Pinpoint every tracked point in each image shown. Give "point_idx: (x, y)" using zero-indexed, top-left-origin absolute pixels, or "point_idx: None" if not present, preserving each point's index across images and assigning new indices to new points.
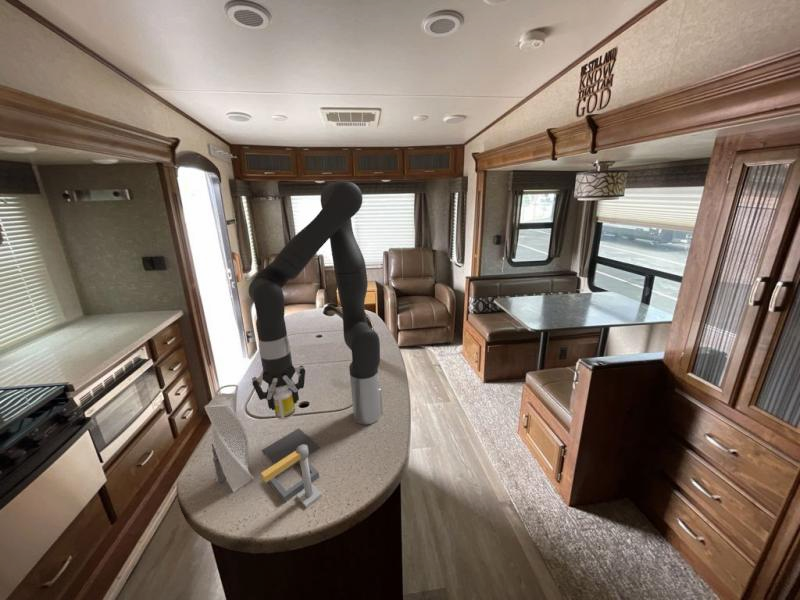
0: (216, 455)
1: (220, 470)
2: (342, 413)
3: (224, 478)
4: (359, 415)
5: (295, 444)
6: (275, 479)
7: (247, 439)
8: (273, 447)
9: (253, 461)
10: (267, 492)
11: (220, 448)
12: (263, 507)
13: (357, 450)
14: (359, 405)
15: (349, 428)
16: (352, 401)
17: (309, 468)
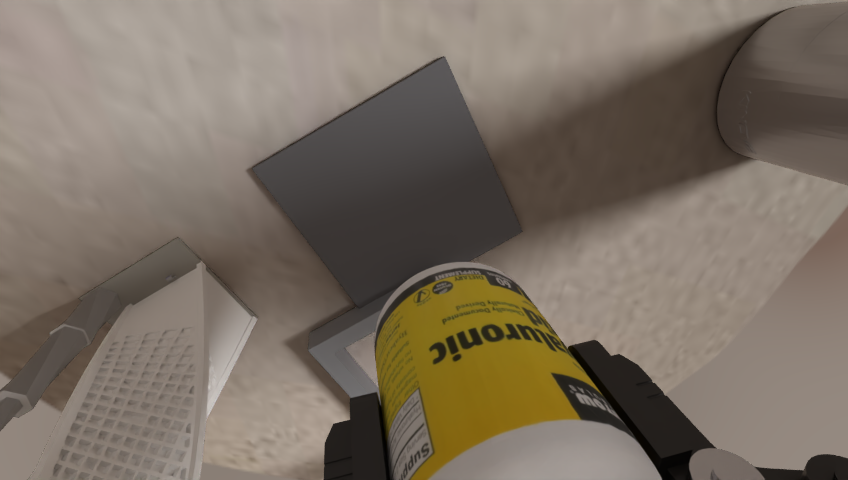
0: (9, 418)
1: (79, 349)
2: (694, 5)
3: (113, 307)
4: (768, 150)
5: (421, 186)
6: (349, 374)
7: (199, 475)
8: (311, 172)
9: (223, 225)
10: (320, 376)
11: None
12: (315, 418)
13: (640, 281)
14: (842, 173)
15: (669, 150)
16: (837, 101)
17: None
